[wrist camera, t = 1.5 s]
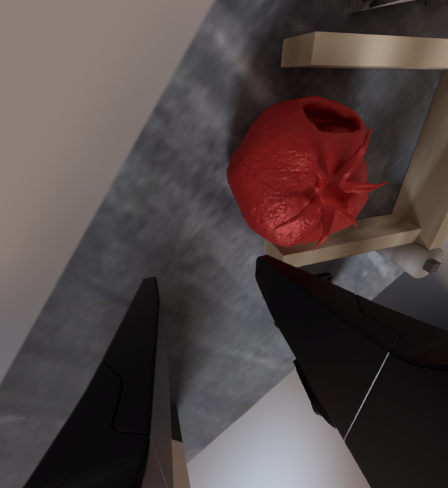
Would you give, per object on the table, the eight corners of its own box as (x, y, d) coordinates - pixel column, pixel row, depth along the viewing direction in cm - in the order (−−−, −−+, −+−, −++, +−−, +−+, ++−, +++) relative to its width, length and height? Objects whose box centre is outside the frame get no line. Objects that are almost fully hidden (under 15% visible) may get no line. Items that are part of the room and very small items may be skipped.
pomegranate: (266, 237, 25) (326, 307, 18) (190, 167, 20) (232, 228, 12) (348, 158, 23) (453, 200, 16) (291, 55, 18) (414, 47, 10)
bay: (475, 48, 22) (572, 39, 17) (394, 249, 32) (440, 278, 27) (283, 39, 17) (344, 24, 12) (260, 278, 27) (289, 319, 23)
